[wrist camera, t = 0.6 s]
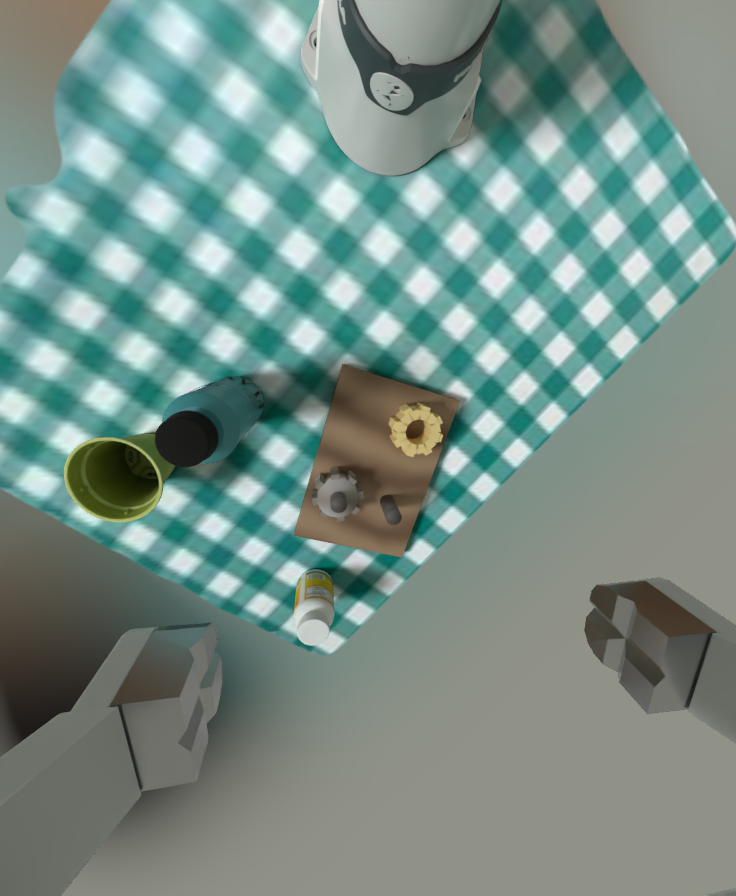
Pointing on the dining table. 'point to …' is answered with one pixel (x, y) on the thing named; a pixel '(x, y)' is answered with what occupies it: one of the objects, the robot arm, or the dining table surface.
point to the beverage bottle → (208, 422)
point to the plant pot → (117, 476)
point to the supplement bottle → (314, 606)
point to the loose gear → (426, 438)
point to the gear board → (370, 466)
